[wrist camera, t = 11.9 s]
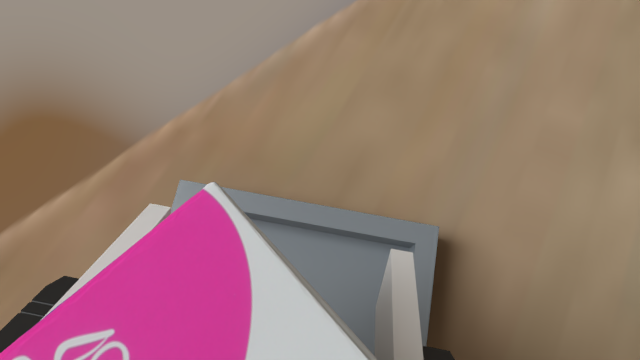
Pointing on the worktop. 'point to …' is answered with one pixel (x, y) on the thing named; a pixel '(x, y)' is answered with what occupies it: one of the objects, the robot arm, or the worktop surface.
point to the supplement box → (195, 299)
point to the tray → (339, 252)
